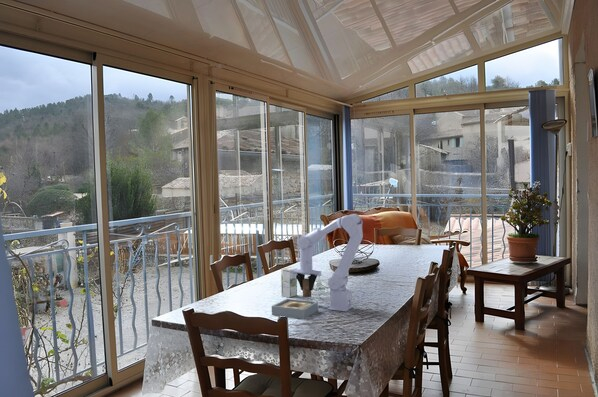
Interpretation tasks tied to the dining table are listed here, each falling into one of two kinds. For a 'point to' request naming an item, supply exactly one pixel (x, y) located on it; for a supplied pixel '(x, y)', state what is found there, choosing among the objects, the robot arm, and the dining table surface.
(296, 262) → the dining table surface
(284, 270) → the syrup box
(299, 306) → the bore plate
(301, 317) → the open box
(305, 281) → the peg
